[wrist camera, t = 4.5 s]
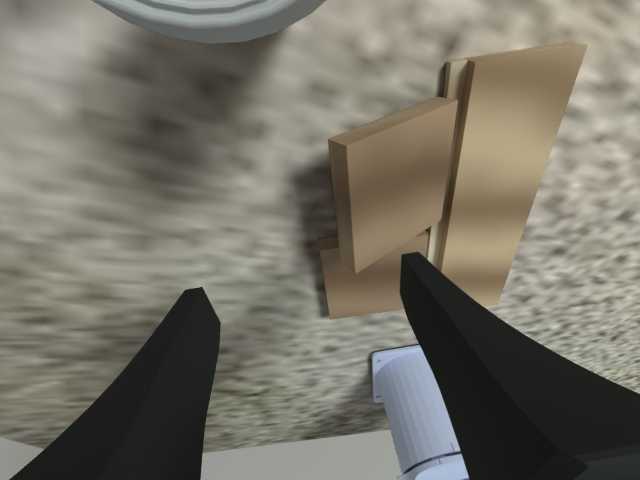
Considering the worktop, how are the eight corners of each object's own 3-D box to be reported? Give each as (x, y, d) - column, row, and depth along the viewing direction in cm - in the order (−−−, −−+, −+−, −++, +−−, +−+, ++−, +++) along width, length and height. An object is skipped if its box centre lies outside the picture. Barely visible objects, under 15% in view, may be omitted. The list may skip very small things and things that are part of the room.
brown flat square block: (414, 295, 25) (420, 306, 24) (328, 307, 25) (330, 319, 24) (422, 224, 21) (428, 234, 20) (318, 239, 21) (319, 250, 20)
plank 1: (425, 212, 20) (441, 219, 19) (341, 262, 17) (355, 274, 17) (437, 96, 16) (458, 99, 15) (327, 138, 13) (346, 145, 12)
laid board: (489, 293, 26) (497, 304, 25) (419, 305, 26) (424, 316, 25) (568, 42, 15) (587, 45, 14) (446, 61, 15) (458, 65, 14)
